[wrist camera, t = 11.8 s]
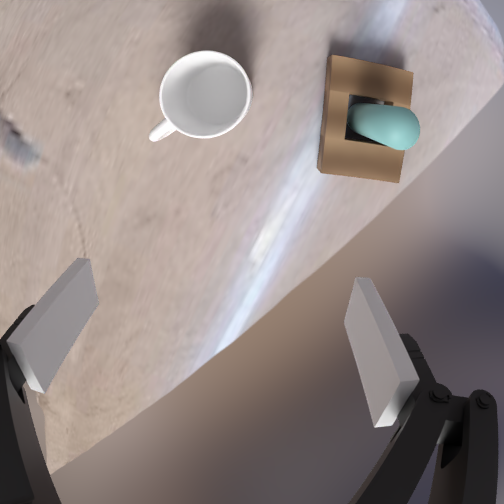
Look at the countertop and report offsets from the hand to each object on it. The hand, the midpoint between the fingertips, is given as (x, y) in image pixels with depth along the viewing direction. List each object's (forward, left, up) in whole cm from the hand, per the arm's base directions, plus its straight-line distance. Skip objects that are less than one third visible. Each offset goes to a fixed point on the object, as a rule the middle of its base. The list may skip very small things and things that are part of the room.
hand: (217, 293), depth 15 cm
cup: (-8, -5, -27) cm, 29 cm away
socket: (-8, +14, -27) cm, 31 cm away
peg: (-8, +14, -27) cm, 31 cm away
